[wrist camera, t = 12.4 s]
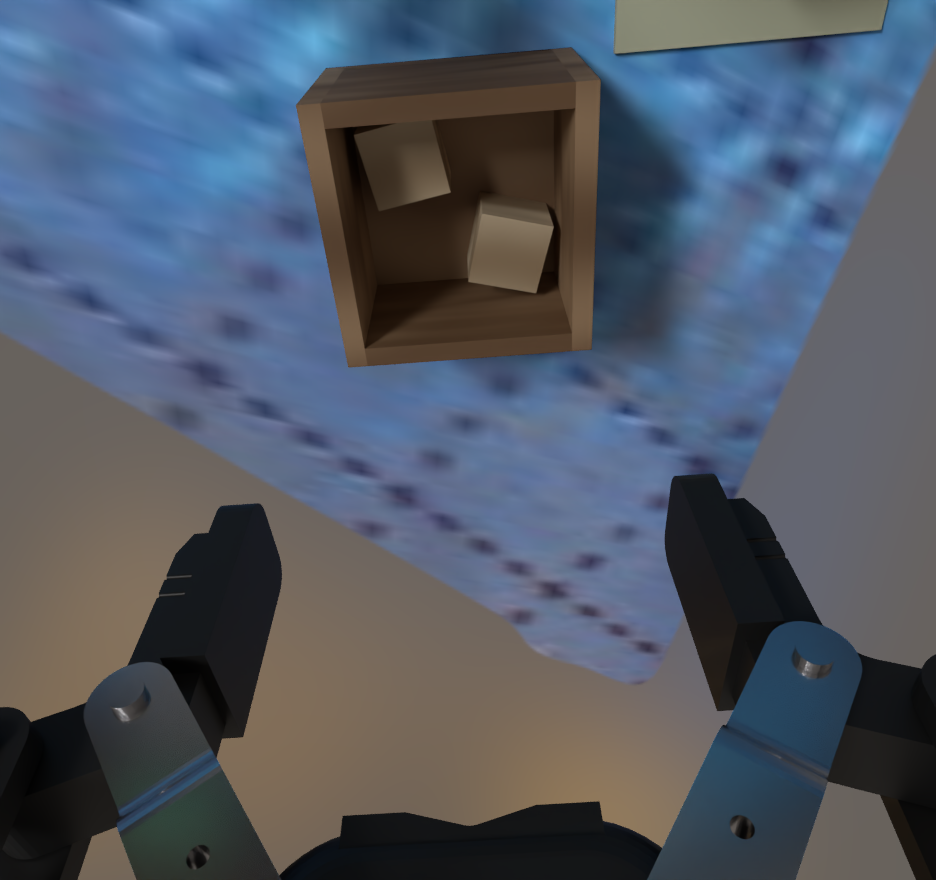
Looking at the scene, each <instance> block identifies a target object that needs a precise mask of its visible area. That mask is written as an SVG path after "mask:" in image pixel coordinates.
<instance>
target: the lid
mask: <svg viewBox="0 0 936 880" xmlns="http://www.w3.org/2000/svg"><path fill="white" fill-rule="evenodd" d="M887 3H888V0H615V25H614V51H613V53H614V54H618V53H629V52H640V51H651V50H662V49H674V48H685V47H696V46H707V45H718V44H729V43H740V42H751V41H763V40H774V39H785V38H796V37H807V36H818V35H829V34H841V33H852V32H863V31H874V30H881V28H882V24H883V20H884V16H885V11H886V7H887Z"/></svg>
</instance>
